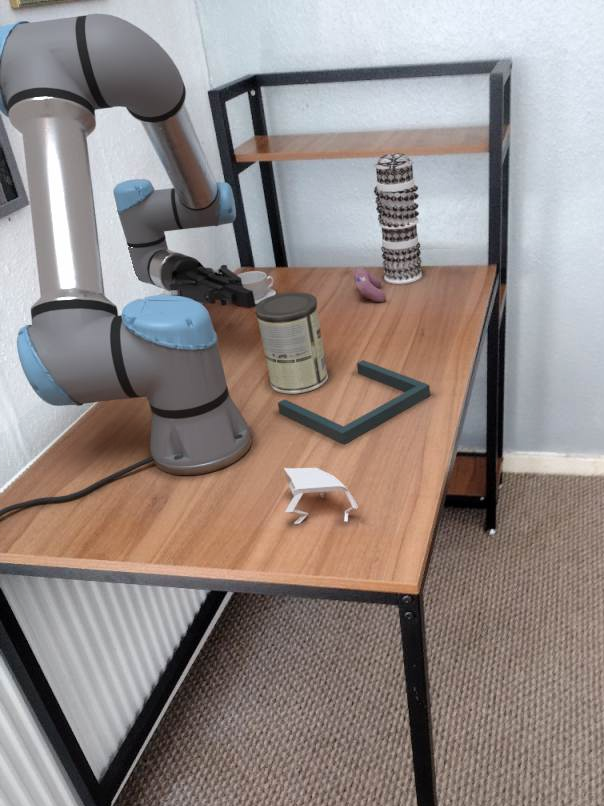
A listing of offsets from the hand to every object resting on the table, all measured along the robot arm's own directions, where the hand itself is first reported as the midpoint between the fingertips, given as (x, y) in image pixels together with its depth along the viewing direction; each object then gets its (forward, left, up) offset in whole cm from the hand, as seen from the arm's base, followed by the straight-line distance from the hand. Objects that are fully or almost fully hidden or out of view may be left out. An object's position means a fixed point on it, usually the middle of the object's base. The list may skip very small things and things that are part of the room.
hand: (250, 299), depth 137 cm
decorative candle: (+42, +21, -13) cm, 49 cm away
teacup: (+11, +33, -13) cm, 37 cm away
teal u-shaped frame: (+6, -24, -12) cm, 28 cm away
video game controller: (+31, +16, -13) cm, 37 cm away
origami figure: (-11, -48, -13) cm, 51 cm away
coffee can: (+3, -10, -13) cm, 16 cm away
